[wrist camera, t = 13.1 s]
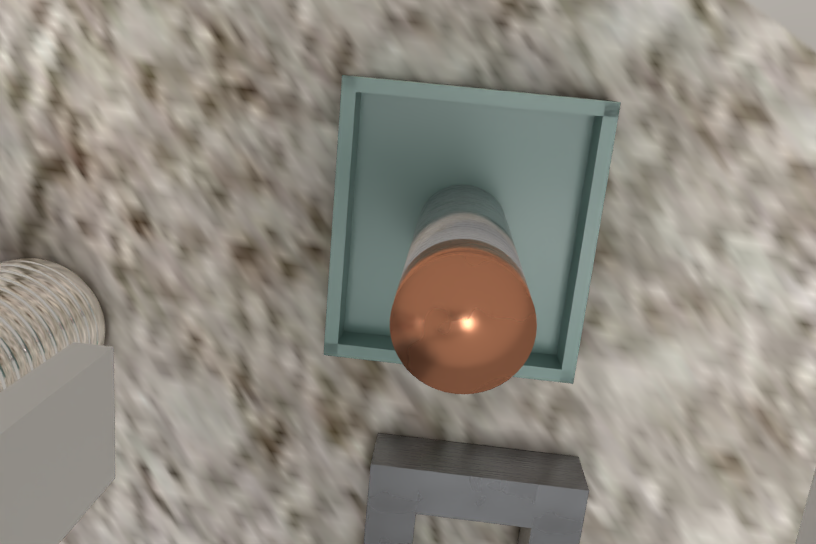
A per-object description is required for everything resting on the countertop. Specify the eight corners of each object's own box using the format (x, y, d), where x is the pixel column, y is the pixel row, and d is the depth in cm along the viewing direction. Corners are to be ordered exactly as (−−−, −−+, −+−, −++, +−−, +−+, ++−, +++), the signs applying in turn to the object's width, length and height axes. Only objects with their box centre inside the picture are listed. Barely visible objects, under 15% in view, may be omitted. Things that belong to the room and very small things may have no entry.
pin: (413, 267, 33) (383, 385, 20) (422, 180, 32) (396, 247, 19) (501, 276, 32) (526, 401, 20) (512, 189, 31) (546, 263, 19)
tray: (332, 335, 35) (323, 355, 32) (351, 75, 31) (342, 75, 29) (565, 362, 34) (573, 383, 32) (608, 100, 31) (620, 102, 28)
